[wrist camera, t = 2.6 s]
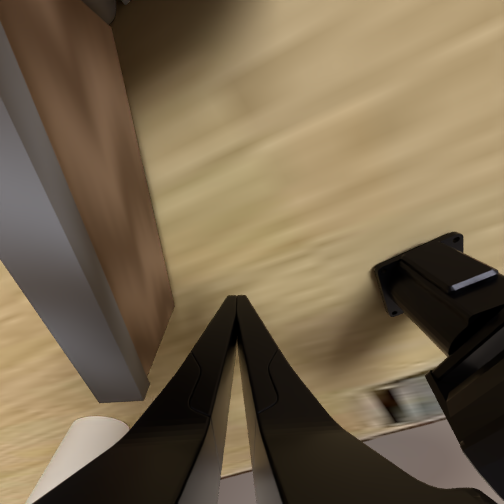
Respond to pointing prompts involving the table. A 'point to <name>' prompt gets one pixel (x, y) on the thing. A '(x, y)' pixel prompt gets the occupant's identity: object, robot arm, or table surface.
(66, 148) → the gate
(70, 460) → the cylindrical container
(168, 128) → the table surface
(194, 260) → the table surface
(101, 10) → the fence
